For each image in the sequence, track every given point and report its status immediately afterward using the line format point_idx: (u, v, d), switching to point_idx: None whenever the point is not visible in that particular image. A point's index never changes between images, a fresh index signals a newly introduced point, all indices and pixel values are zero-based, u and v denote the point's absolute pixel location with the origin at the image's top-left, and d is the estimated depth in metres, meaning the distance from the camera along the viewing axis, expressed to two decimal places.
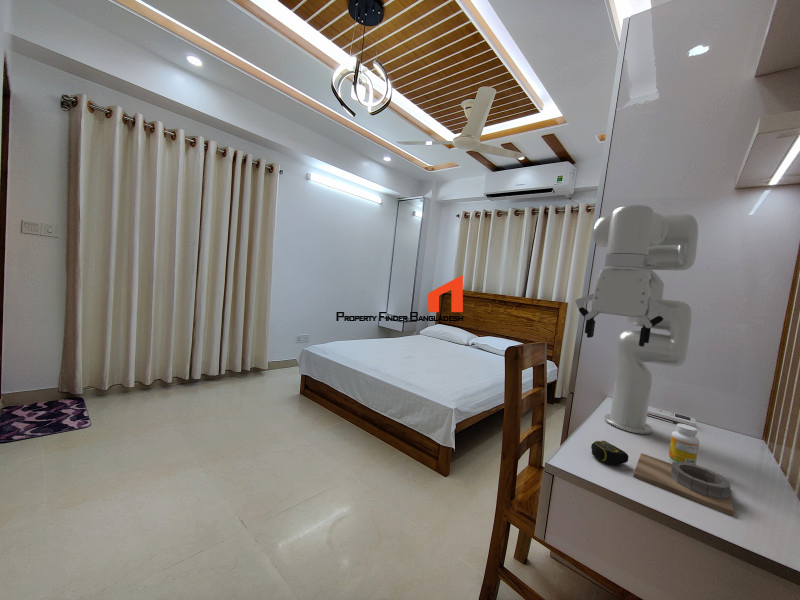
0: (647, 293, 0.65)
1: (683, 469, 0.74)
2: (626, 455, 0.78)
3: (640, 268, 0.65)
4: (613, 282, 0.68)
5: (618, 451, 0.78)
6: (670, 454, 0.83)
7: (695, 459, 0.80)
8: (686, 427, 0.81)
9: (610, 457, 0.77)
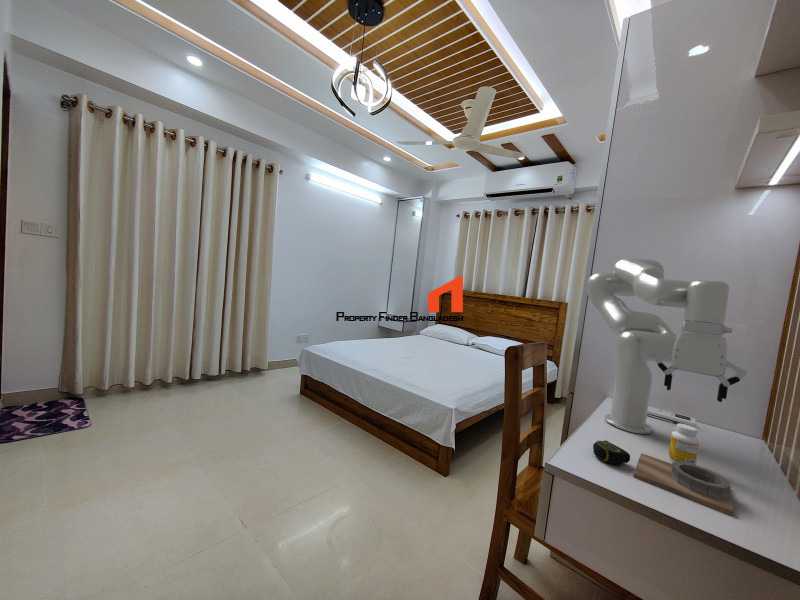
0: (725, 357, 0.76)
1: (683, 469, 0.74)
2: (628, 455, 0.78)
3: (718, 335, 0.77)
4: (692, 345, 0.80)
5: (620, 451, 0.78)
6: (670, 454, 0.83)
7: (695, 459, 0.80)
8: (686, 427, 0.81)
9: (612, 457, 0.77)
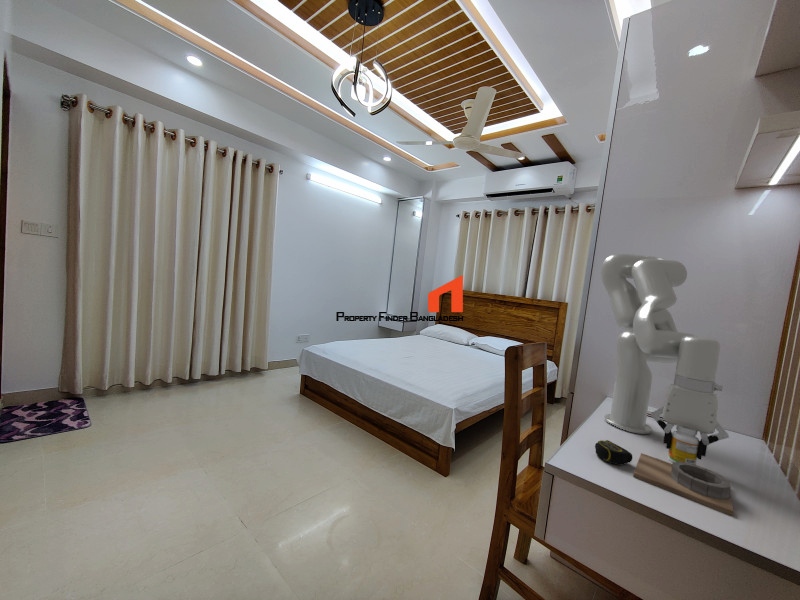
0: (715, 415, 0.77)
1: (683, 469, 0.74)
2: (630, 455, 0.78)
3: (709, 393, 0.78)
4: (683, 401, 0.81)
5: (622, 451, 0.78)
6: (670, 454, 0.83)
7: (695, 459, 0.80)
8: None
9: (614, 457, 0.77)
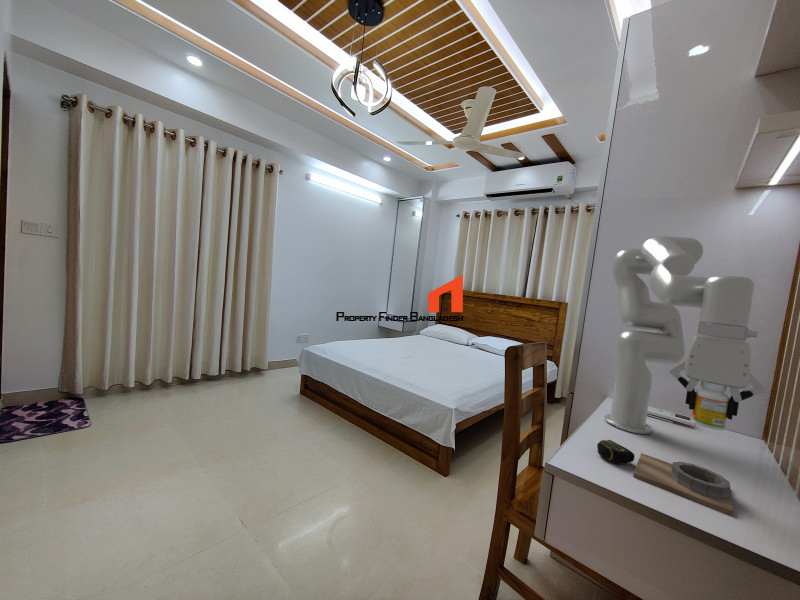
0: (749, 365, 0.65)
1: (683, 469, 0.74)
2: (632, 454, 0.78)
3: (741, 340, 0.66)
4: (710, 351, 0.69)
5: (624, 450, 0.79)
6: (694, 415, 0.71)
7: (724, 419, 0.68)
8: None
9: (616, 456, 0.78)
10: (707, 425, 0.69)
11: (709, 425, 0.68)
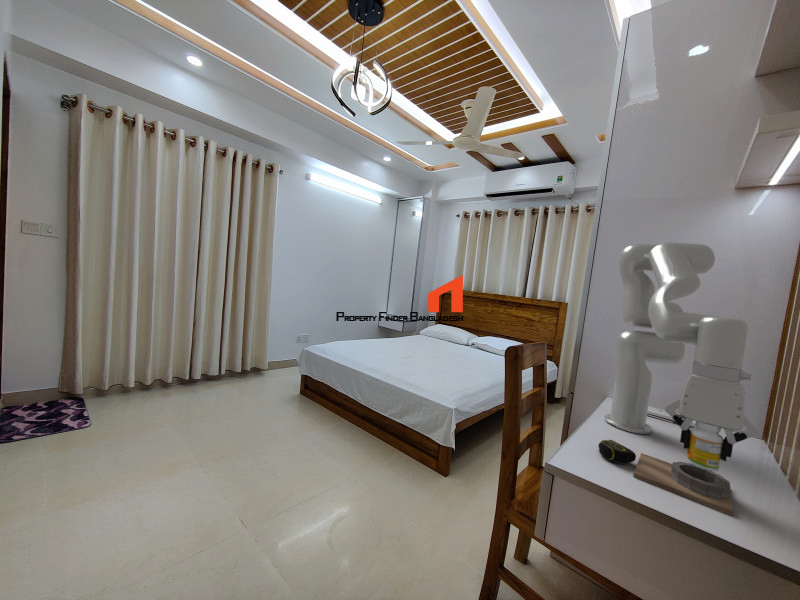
0: (743, 408, 0.65)
1: (683, 469, 0.74)
2: (633, 454, 0.79)
3: (735, 382, 0.66)
4: (704, 392, 0.69)
5: (625, 450, 0.79)
6: (688, 454, 0.71)
7: (719, 460, 0.68)
8: None
9: (618, 456, 0.78)
10: (701, 466, 0.69)
11: (703, 466, 0.68)
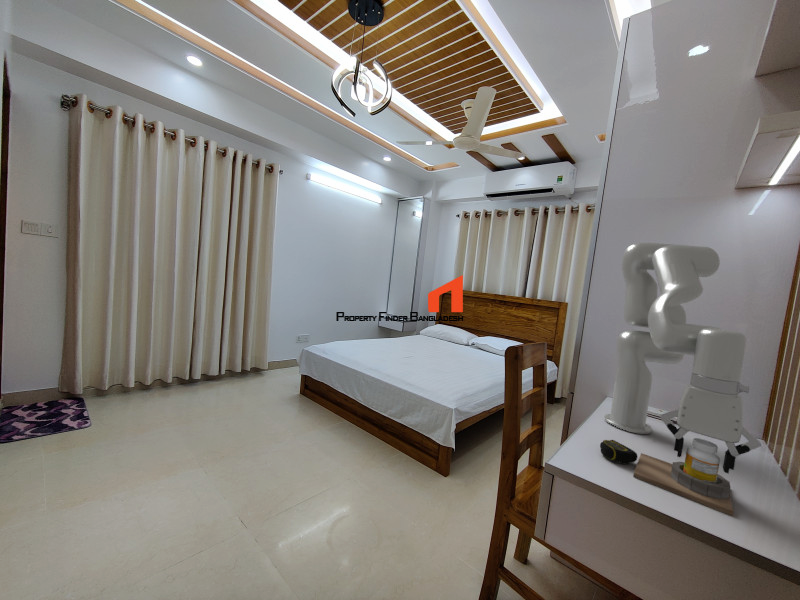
0: (741, 421, 0.66)
1: None
2: (635, 454, 0.79)
3: (733, 395, 0.66)
4: (702, 404, 0.69)
5: (627, 450, 0.79)
6: None
7: (715, 481, 0.68)
8: (704, 443, 0.70)
9: (619, 456, 0.78)
10: None
11: None
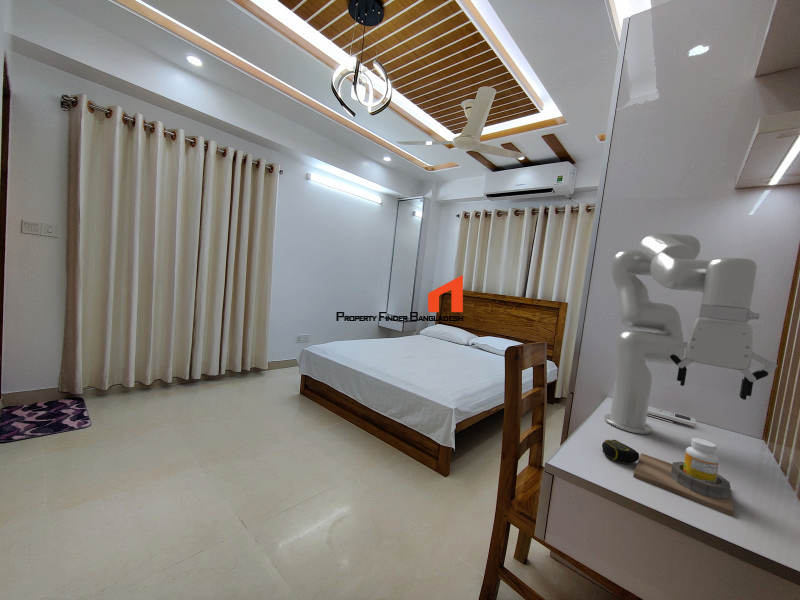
0: (751, 347, 0.65)
1: None
2: (637, 454, 0.79)
3: (743, 322, 0.66)
4: (712, 334, 0.69)
5: (629, 450, 0.79)
6: None
7: (714, 480, 0.69)
8: (703, 443, 0.70)
9: (621, 456, 0.78)
10: None
11: None
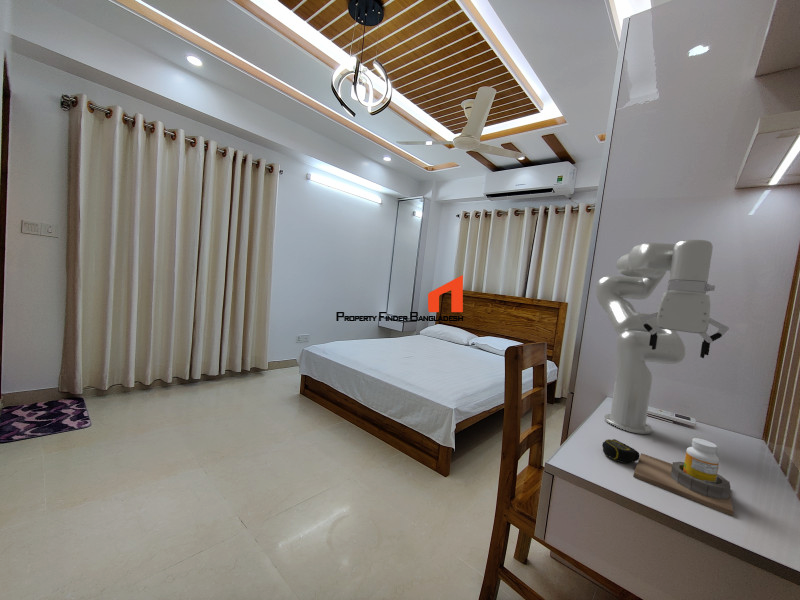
0: (708, 314, 0.78)
1: None
2: (637, 453, 0.79)
3: (702, 293, 0.79)
4: (676, 304, 0.81)
5: (629, 449, 0.79)
6: None
7: (714, 480, 0.69)
8: (704, 443, 0.70)
9: (622, 455, 0.78)
10: None
11: None
